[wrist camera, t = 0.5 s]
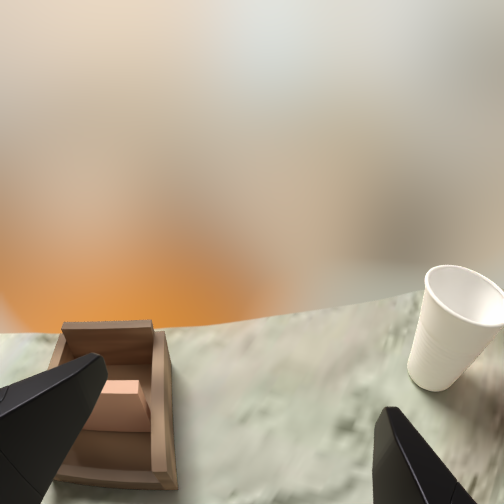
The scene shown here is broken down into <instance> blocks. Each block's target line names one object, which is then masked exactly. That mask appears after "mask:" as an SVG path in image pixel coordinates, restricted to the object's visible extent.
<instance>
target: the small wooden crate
mask: <svg viewBox="0 0 504 504" xmlns="http://www.w3.org/2000/svg"><path fill="white" fill-rule="evenodd" d="M61 330H62V332H63V334H60V335H59V338H58V341H57V344H56V346H55V349H54V352H53V355H52V358H51V361H50V364H49V367H48V370H49V369H52V368H54V367H57V366H59V365H62V364H64V363H67V362H69V361H72V360H74V359H77V358H79V357H82V356H84V355H86V354H89V353H92V352H93V353H96V354H99V355H102V356H103V358H104V361H105V364H106V368H107V371H108V378H107V380H139V382H140V385H141V388H142V390H143V393H144V396H145V398H146V401H147V403H148V406H149V408H150V411H151V432H116V431H96V430H83V429H82V430H81V432H80V433H79V435H78V437H77V439H76V440H75V442H74V444H73V445H72V447H71V449H70V451H69V452H68V454H67V456H66V458H65V459H64V461H63V463H62V465H61V466H60V468H59V470H58V472H57V474H56V475H55V477H54V479H53V480H57V481H63V482H69V483H75V484H82V485H89V486H97V487H107V488H119V489H137V490H178V484H177V473H176V461H175V448H174V433H173V413H172V385H171V360H170V355H169V351H168V346H167V341H166V336H165V331H157V332H154V329H153V324H152V320H134V321H105V322H64V323H63V326H62V328H61Z"/></svg>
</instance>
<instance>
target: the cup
mask: <svg viewBox="0 0 504 504" xmlns="http://www.w3.org/2000/svg"><path fill="white" fill-rule="evenodd" d="M503 326H504V292H503V291H502V289H501V288H499V287H498V286H497V285H496V284H495V283H494V282H492V281H491V280H490V279H488V278H487V277H485V276H483V275H481V274H479V273H477V272H475V271H472V270H470V269H467V268H464V267H460V266H455V265H440V266H436V267H434V268H432V269H430V270H429V271H428V272H427V274H426V276H425V291H424V297H423V302H422V307H421V311H420V317H419V322H418V326H417V330H416V334H415V338H414V341H413V345H412V349H411V352H410V356H409V359H408V364H407V369H408V373H409V375H410V377H411V378H412V380H413V381H414V382H415V383H416V384H417V385H418V386H420V387H421V388H423V389H425V390H429V391H435V392H438V391H443V390H446V389H447V388H449V387H450V386H451V385H452V384H453V383H454V382H455V381H456V380H457V379H458V378H459V377H460V376H461V375H462V374H463V373H464V372H465V370H466V369H467V368H468V367H469V366H470V365H471V364H472V363H473V362H474V361H475V359H476V358H477V357H478V356H479V355H480V354H481V353H482V352H483V350H484V349H485V348H486V347H487V346H488V345H489V343H490V342H491V341H492V340H493V338H494V337H495V336H496V335H497V333H498V332H499V331H500V330H501V328H502V327H503Z"/></svg>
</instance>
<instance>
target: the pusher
mask: <svg viewBox="0 0 504 504" xmlns="http://www.w3.org/2000/svg"><path fill="white" fill-rule="evenodd" d="M82 429H83V430H96V431H116V432H151V411H150V408H149V406H148V403H147V401H146V398H145V396H144V393H143V390H142V388H141V385H140V382H139V380H107V381H106V383H105V385H104V387H103V390H102V392H101V394H100V396H99V398H98V400H97V403H96V405H95V407H94V409H93V411H92V413H91V415H90V417H89V418H88V420H87V422H86V423H85V425H84V427H83V428H82Z"/></svg>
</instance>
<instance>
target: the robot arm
mask: <svg viewBox="0 0 504 504" xmlns="http://www.w3.org/2000/svg"><path fill="white" fill-rule="evenodd" d="M107 378H108V371H107V368H106V364H105V361H104V358H103V356H102V355H99V354H96V353H93V352H92V353H89V354H86V355H84V356H82V357H79V358H77V359H74V360H72V361H69V362H67V363H64V364H62V365H59V366H57V367H54V368H52V369H49V370H47V371H44V372H42V373H39V374H37V375H34V376H32V377H29V378H26V379H24V380H21V381H19V382H16V383H13V384H11V385H9V386H6V387H3V388H0V504H41V502H42V500H43V497H44V496H45V494H46V492H47V490H48V488H49V486H50V485H51V483H52V481H53V479H54V477H55V475H56V474H57V472H58V470H59V468H60V466H61V465H62V463H63V461H64V459H65V458H66V456H67V454H68V452H69V451H70V449H71V447H72V445H73V444H74V442H75V440H76V439H77V437H78V435H79V433H80V432H81V430H82V428H83V427H84V425H85V423H86V422H87V420H88V418H89V417H90V415H91V413H92V411H93V409H94V407H95V405H96V403H97V400H98V398H99V396H100V394H101V392H102V390H103V387H104V385H105V383H106V381H107ZM372 478H373V504H477V503H476V502H475V501H474V500H473V499H472V497H471V496H470V495H469V494H468V493H467V492H466V490H465V489H464V488H463V487H462V485H461V484H460V483H459V482H457V479H456V478H455V477H454V476H453V474H452V473H451V472H450V471H449V469H448V468H447V467H446V466H445V464H444V463H443V462H442V461H441V459H440V458H439V457H438V456H437V454H436V453H435V452H434V451H433V449H432V448H431V447H430V446H429V445H428V443H427V442H426V441H425V440H424V438H423V437H422V436H421V435H420V433H419V432H418V431H417V430H416V429H415V427H414V426H413V425H412V424H411V422H410V421H409V420H408V419H407V418H406V416H405V415H404V414H403V413H402V411H401V410H400V409H399V408H398V407H385V408H384V409H383V410H382V412H381V414H380V416H379V418H378V420H377V422H376V424H375V429H374V450H373V468H372Z"/></svg>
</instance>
